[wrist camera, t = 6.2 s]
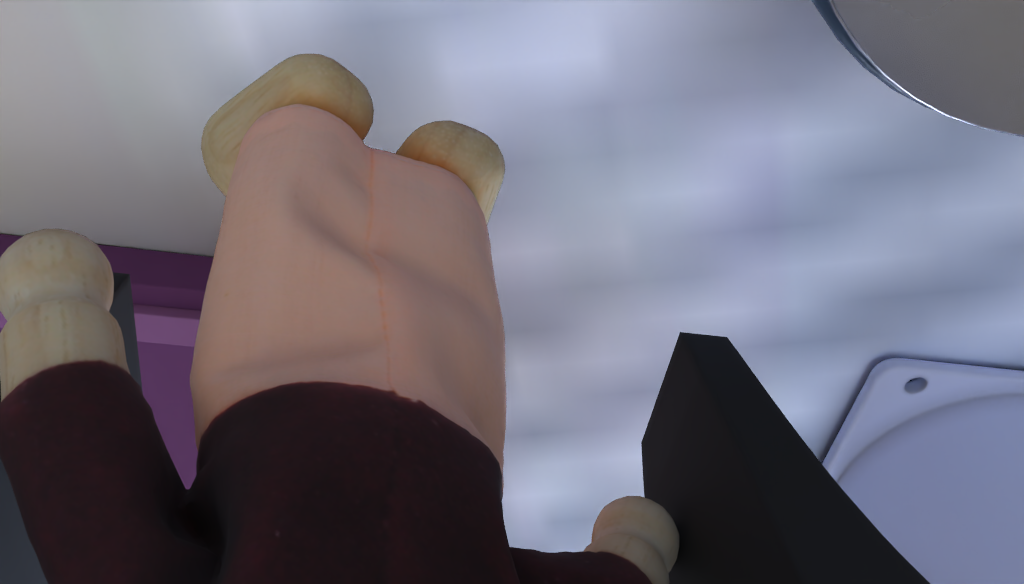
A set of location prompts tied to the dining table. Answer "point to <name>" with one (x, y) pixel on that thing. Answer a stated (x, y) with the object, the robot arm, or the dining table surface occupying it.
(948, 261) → the dining table surface
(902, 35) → the tin can
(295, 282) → the grandmother figurine
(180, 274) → the purple box
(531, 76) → the dining table surface
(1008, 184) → the dining table surface
